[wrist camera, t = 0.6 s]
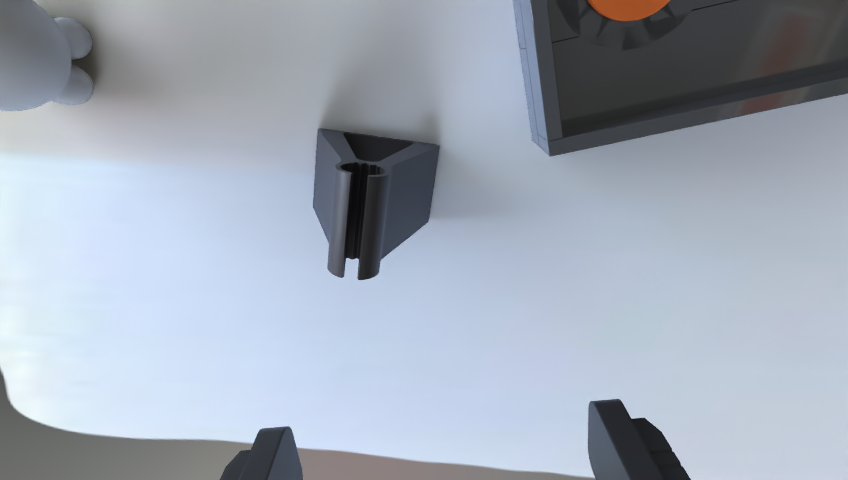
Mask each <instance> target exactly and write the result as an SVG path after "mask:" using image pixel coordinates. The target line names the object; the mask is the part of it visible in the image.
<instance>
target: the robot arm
mask: <svg viewBox="0 0 848 480" xmlns="http://www.w3.org/2000/svg"><path fill="white" fill-rule="evenodd" d="M588 453H589V459H590V463H591V467H592V470H593V473H594V476H595V478H596V480H691V479H690V478H689V476H688V474H687V473H686V471H685V470H684V468H683V466H681V464H680V461H679V460H678V458H677V457H676V455H675V453H674V452H672V448H671V447H670V445H669V443H668V442H667V440H666V439H665V437H664V435H663V434H662V432H661V431H660V430H659V429H657V428H656V427H655V426H654V425H652V424H651V423H650V422H649V421H647V420H646V419H645V418H636V419H631V417H630V416H629V414H628V412H627V410H626V408H625V407H624V405H623V403H622V402H621V400H619V399H612V400H601V401H591V402H590V403H589V417H588ZM220 480H303V475H302V467H301V463H300V460H299V456H298V452H297V448H296V444H295V440H294V436H293V433H292V430H291V428H290V427H288V426H287V427H275V428H264V429H261V430H260V431H259V432H258V434H257V437H256V439H255V441H254V444H253V447H252V448H251V450H246V451H245V450H244V451H240V452H239V453H238V454H237V455H236V457H235V458H234V459H233V460H232V461H231V462H230V463H229V464H228V465H227V466H226V468H225V470H224V472H223V475H222V476H221V479H220Z"/></svg>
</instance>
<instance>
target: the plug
mask: <svg viewBox="0 0 848 480" xmlns="http://www.w3.org/2000/svg"><path fill="white" fill-rule="evenodd" d="M669 1H670V0H588V2H589V3H590V4H591V6H592V7H593V8H594V9H595V10H596V11H597V12H598V13H600V14H601V15H603V16H605V17H607V18H609V19H612V20H616V21H634V20H639V19H642V18H646V17H648V16H650V15H652V14H654V13H656V12H657V11H659V10H660V9H661V8H663V7H664V6H665V5H666V4H667V3H668V2H669Z"/></svg>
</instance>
